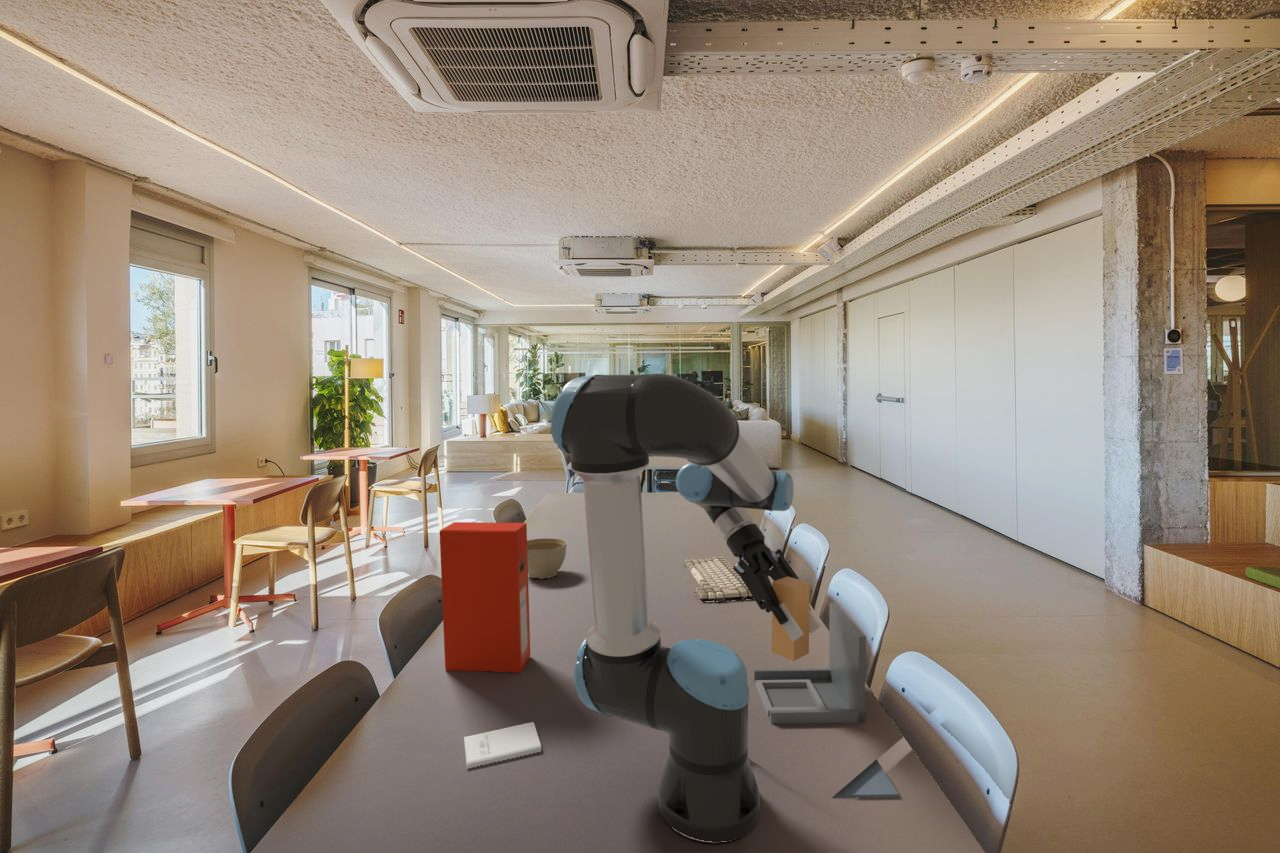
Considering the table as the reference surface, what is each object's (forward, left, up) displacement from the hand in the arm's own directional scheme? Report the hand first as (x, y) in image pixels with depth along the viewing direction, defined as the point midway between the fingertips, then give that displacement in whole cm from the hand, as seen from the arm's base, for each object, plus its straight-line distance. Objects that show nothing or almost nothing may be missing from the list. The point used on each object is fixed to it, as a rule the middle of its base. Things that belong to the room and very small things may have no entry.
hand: (807, 633), depth 108 cm
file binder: (-67, +21, -16) cm, 72 cm away
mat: (+2, -18, -16) cm, 24 cm away
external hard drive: (-56, -9, -17) cm, 59 cm away
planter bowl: (-65, +83, -16) cm, 107 cm away
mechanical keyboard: (-8, +76, -17) cm, 78 cm away
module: (-2, +3, -5) cm, 6 cm away
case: (0, +2, -16) cm, 16 cm away
